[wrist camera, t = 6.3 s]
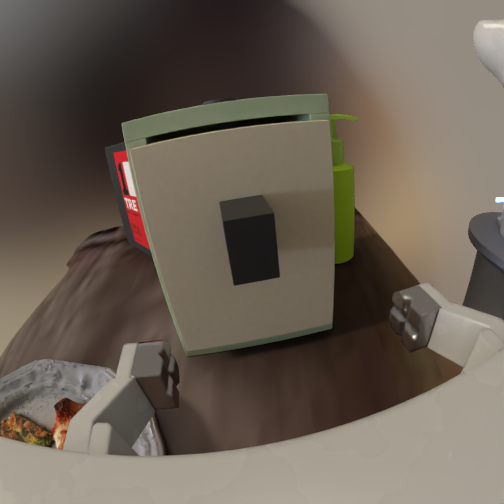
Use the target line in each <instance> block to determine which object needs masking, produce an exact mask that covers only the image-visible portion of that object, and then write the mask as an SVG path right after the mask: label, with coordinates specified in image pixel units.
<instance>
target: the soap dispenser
mask: <svg viewBox="0 0 504 504" xmlns="http://www.w3.org/2000/svg"><path fill="white" fill-rule="evenodd" d="M329 116H330V128H331V141H332V157H333V176H334V206H335V264H339V263H344V262H347V261H349V260H350V259H351V258H352V257H353V252H354V166H353V165H351V164H348V163H344V147H343V140H342V139H339V137H336V125H335V119H348V120H354V121H358V120H359V118H358V117H354V116H350V115H343V114H331V115H329Z"/></svg>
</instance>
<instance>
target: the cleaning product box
mask: <svg viewBox="0 0 504 504" xmlns="http://www.w3.org/2000/svg"><path fill="white" fill-rule="evenodd" d="M105 152H106V156H107V161H108V166H109V170H110V175H111V179H112V183H113V187H114V192H115V196H116V199H117V203H118V207H119V211H120V214H121V218H122V222H123V225H124V229H125V232H126V236H127V239H128V242H129V243H130V244H131V245H133V246H134V247H136V248H138V249H139V250H141V251H143V252H144V253H146V254H148V255H149V256H151V257H153V256H152V253H151V249H150V246H149V242H148V239H147V235H146V232H145V228H144V224H143V220H142V216H141V213H140V209H139V205H138V201H137V196H136V192H135V188H134V184H133V179H132V175H131V170H130V165H129V161H128V156H127V151H126V145H125V142H123V143H120V144H117V145H113V146H109V147H106V148H105Z"/></svg>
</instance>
